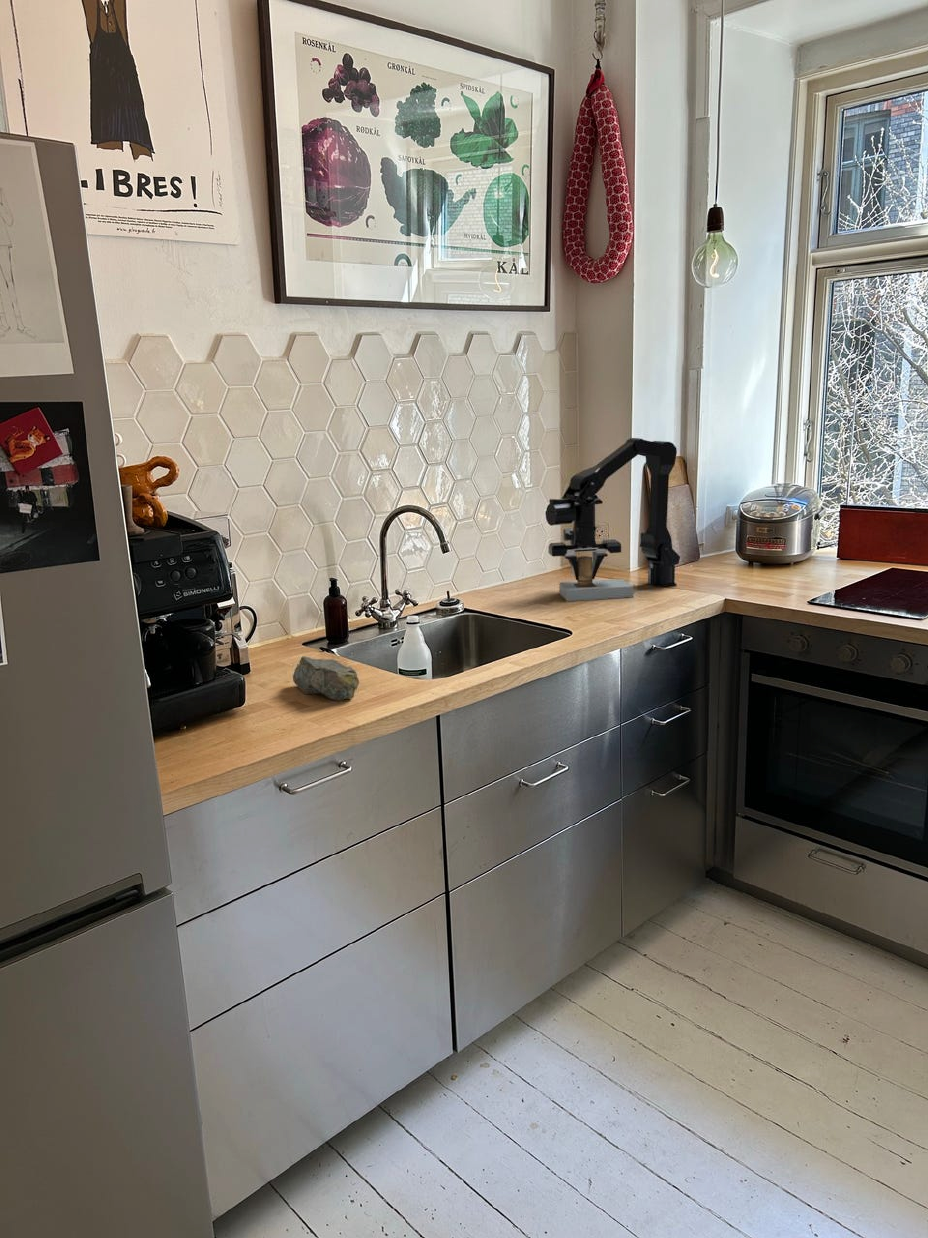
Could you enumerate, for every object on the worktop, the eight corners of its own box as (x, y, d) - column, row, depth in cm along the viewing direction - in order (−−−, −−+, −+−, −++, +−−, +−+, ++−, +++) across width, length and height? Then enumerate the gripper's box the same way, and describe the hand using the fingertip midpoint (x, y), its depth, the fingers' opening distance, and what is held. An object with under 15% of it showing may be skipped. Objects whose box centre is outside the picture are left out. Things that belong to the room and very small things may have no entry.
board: (623, 589, 246) (623, 578, 246) (633, 597, 237) (633, 586, 236) (559, 593, 245) (559, 582, 244) (566, 601, 235) (566, 590, 235)
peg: (590, 588, 242) (590, 555, 240) (594, 591, 238) (594, 558, 236) (575, 589, 242) (575, 556, 240) (579, 592, 238) (578, 559, 236)
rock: (377, 670, 168) (338, 670, 161) (371, 705, 169) (332, 706, 161) (318, 653, 179) (278, 652, 171) (313, 686, 180) (273, 686, 172)
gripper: (611, 515, 244) (611, 571, 248) (544, 519, 243) (545, 575, 247) (621, 521, 233) (621, 579, 237) (551, 525, 232) (553, 583, 236)
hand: (584, 579), depth 240 cm, fingers closed on peg, 4 cm apart
